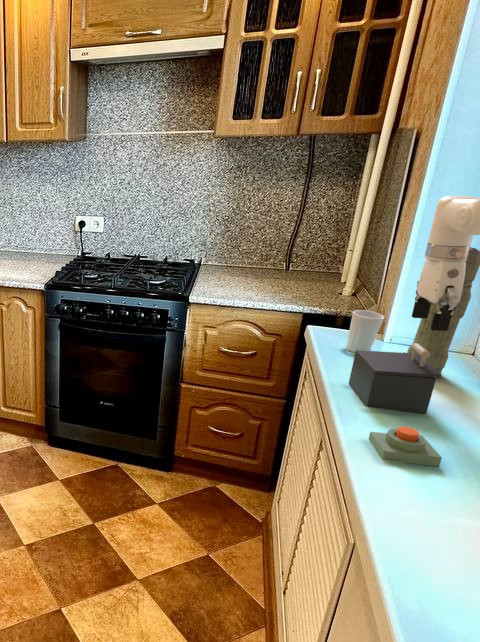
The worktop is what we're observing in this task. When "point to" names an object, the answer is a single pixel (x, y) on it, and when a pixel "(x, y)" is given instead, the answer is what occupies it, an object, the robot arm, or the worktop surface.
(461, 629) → the worktop surface
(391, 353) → the box lid
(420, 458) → the block
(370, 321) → the cup
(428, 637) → the worktop surface
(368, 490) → the worktop surface
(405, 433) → the button
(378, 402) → the dark grey lidded box
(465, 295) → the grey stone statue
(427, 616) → the worktop surface
